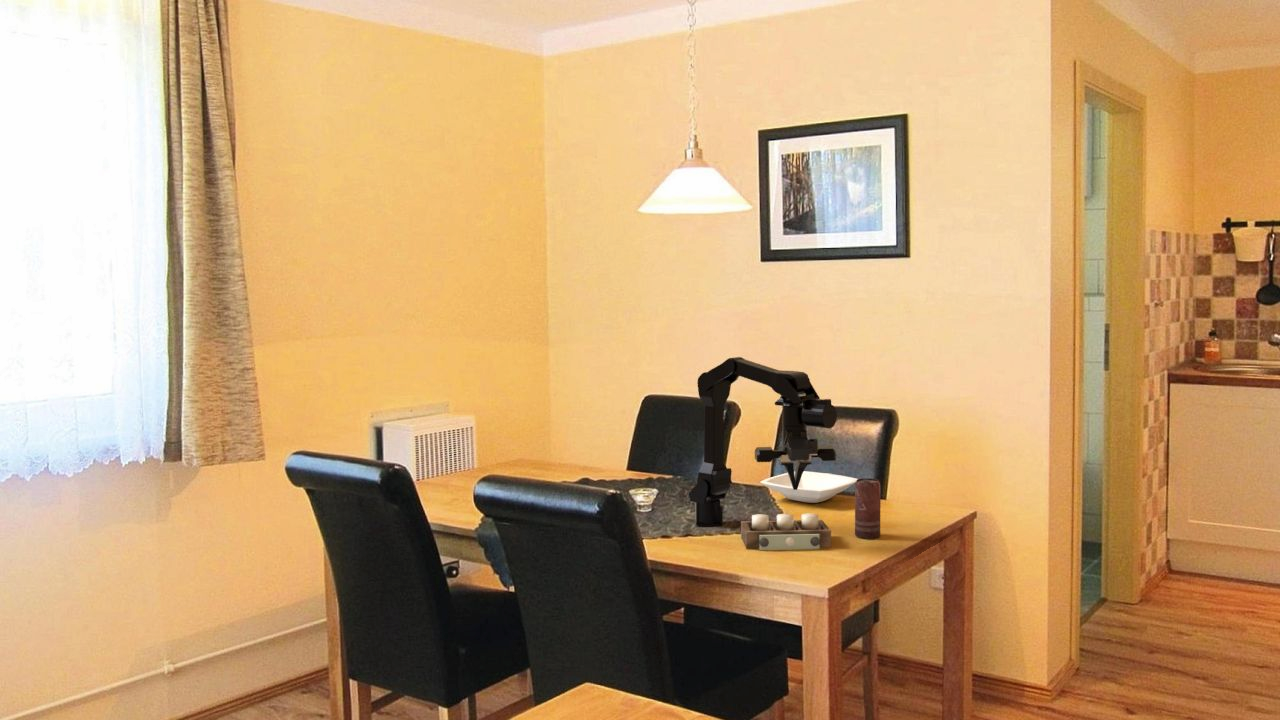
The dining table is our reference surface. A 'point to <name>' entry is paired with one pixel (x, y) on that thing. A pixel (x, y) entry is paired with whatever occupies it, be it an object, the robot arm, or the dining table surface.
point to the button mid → (785, 521)
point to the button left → (760, 522)
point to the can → (867, 508)
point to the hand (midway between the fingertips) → (795, 489)
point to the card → (789, 542)
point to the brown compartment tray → (783, 533)
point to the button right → (809, 521)
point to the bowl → (810, 486)
